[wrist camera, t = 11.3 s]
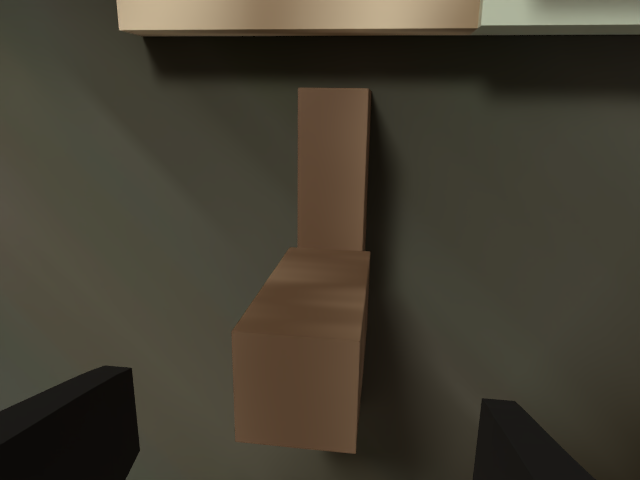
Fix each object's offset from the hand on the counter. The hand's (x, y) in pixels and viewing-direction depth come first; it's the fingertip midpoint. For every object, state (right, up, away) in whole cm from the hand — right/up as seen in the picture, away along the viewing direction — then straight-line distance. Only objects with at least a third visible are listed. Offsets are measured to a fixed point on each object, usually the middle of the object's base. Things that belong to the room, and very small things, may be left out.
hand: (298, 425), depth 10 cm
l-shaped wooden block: (+1, +3, +8) cm, 9 cm away
